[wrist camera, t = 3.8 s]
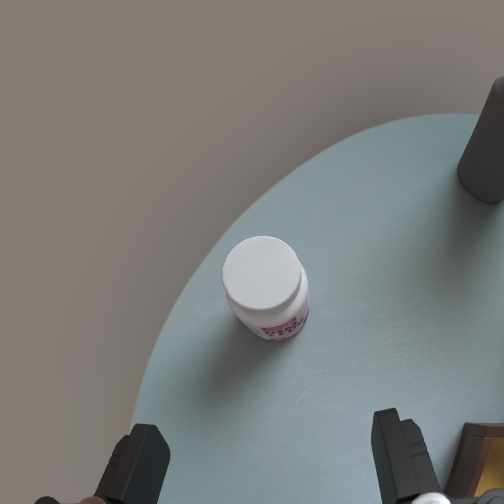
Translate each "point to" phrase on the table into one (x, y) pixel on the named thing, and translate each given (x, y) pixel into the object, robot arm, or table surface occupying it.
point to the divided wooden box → (478, 461)
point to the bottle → (486, 150)
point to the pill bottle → (267, 287)
